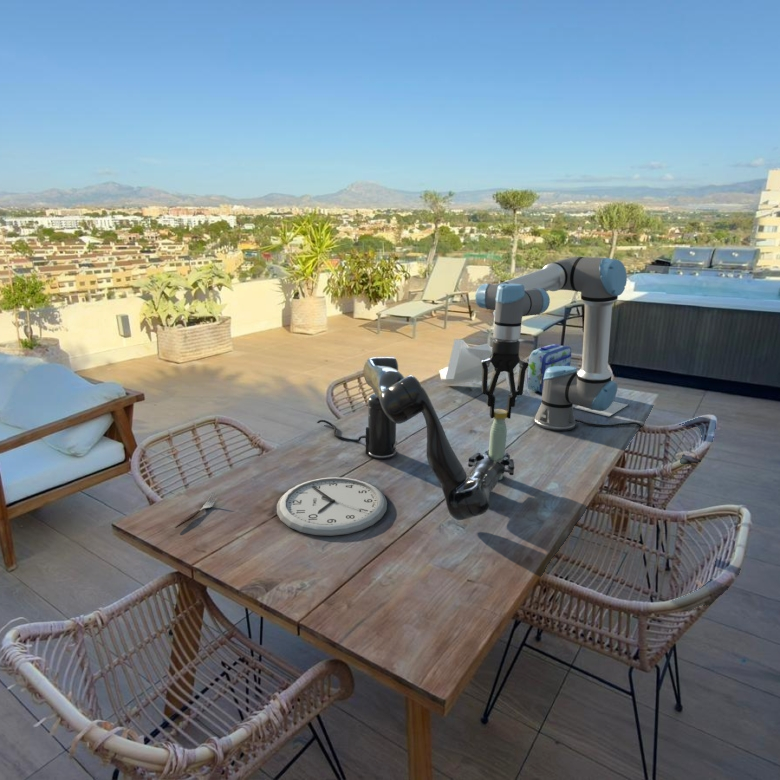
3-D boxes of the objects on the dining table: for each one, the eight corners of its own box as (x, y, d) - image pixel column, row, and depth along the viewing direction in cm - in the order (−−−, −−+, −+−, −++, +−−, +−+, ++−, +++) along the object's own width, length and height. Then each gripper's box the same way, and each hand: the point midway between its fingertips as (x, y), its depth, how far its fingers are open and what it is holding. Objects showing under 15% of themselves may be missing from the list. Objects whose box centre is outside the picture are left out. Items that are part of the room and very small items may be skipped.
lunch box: (543, 396, 238) (548, 352, 231) (522, 391, 245) (526, 347, 239) (570, 385, 255) (575, 343, 249) (550, 381, 262) (555, 340, 256)
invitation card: (608, 416, 214) (573, 407, 224) (608, 416, 214) (573, 408, 224) (628, 404, 229) (594, 396, 238) (628, 405, 229) (594, 397, 238)
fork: (171, 528, 130) (170, 521, 130) (212, 499, 145) (211, 492, 144) (179, 530, 129) (178, 523, 129) (220, 500, 144) (219, 494, 143)
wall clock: (392, 527, 129) (268, 531, 127) (391, 533, 130) (269, 537, 127) (383, 473, 158) (282, 475, 155) (383, 478, 158) (282, 480, 156)
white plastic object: (461, 429, 252) (437, 405, 227) (444, 352, 274) (420, 323, 250) (535, 404, 240) (518, 377, 215) (510, 326, 262) (492, 293, 237)
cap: (504, 420, 152) (504, 414, 152) (490, 417, 154) (490, 411, 154) (509, 415, 156) (510, 410, 155) (495, 413, 158) (496, 407, 157)
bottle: (503, 480, 158) (509, 416, 152) (487, 479, 159) (492, 415, 153) (501, 473, 163) (507, 411, 157) (486, 472, 163) (491, 410, 157)
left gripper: (511, 469, 143) (522, 447, 157) (460, 459, 148) (476, 438, 163) (508, 494, 145) (520, 469, 160) (459, 483, 150) (474, 460, 165)
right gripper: (533, 337, 152) (526, 413, 159) (474, 336, 152) (469, 411, 159) (540, 342, 144) (532, 421, 151) (477, 341, 145) (472, 420, 152)
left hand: (498, 454), depth 161 cm, fingers closed on bottle, 4 cm apart
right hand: (499, 416), depth 155 cm, fingers closed on cap, 4 cm apart
